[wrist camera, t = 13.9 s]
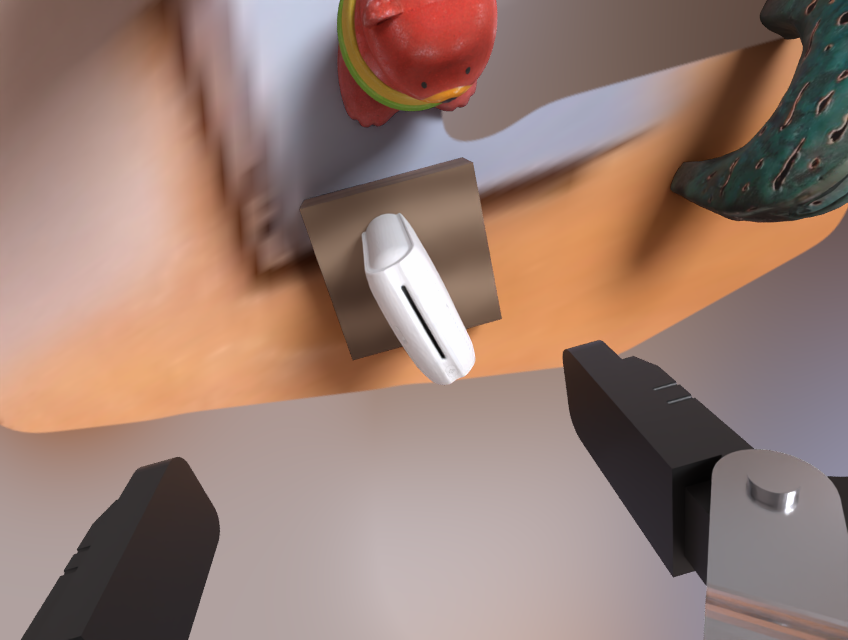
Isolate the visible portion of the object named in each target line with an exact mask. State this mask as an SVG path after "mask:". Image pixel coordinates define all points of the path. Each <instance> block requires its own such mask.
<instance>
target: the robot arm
mask: <svg viewBox="0 0 848 640" xmlns="http://www.w3.org/2000/svg"><path fill="white" fill-rule="evenodd" d="M563 366H564V374H565V381H566V389H567V397H568V405H569V411H570V416H571V419H572V423H573V426H574V428H575V431H576V433H577V435H578V436H579V438H580V440H581V442H582V443H583V445H584V446H585V447H586V449H587V450H588V452H589V453H590V455H591V456H592V458H593V459H594V461H595V462H596V464H597V465H598V467H599V468H600V470H601V471H602V473H603V474H604V476H605V477H606V478H607V480H608V482H609V483H610V484H611V486H612V487H613V489H614V490H615V492H616V493H617V495H618V496H619V498H620V499H621V501H622V502H623V504H624V505H625V507H626V508H627V510H628V511H629V513H630V514H631V515H632V517H633V518H634V520H635V522H636V523H637V525H638V526H639V528H640V529H641V530H642V532H643V533H644V535H645V536H646V538H647V539H648V541H649V542H650V544H651V545H652V547H653V548H654V550H655V551H656V553H657V554H658V556H659V557H660V559H661V560H662V562H663V563H664V565H665V566H666V568H667V569H668V570H669V572H670V573H671V575H672V576H673V577H676V576H679V575H683V574H686V573H690V572H693V571H696V572H697V574H698V575H699V577H700V578H701V579H702V580H703V582H704V583H705V585H706V586H707V588H706V603H705V622H704V640H848V477H832V476H826V475H825V474H823V473H822V472H821V471H820V470H818V469H817V468H815V467H814V466H812V465H811V464H808V463H807V462H805V461H803V460H801V459H799V458H796V457H794V456H791V455H788V454H784V453H781V452H776V451H771V450H763V449H762V450H761V449H754V448H753V447H751V446H750V445H749V444H748V443H747V442H746V441H745V440H743V439H742V438H741V437H740V436H739V435H738V434H736V433H735V432H734V431H733V430H732V429H730V428H729V427H728V426H727V425H726V424H725V423H724V422H723V421H721V420H720V419H719V418H718V417H717V416H716V415H714V414H713V413H712V412H711V411H710V410H709V409H707V408H706V407H705V406H704V405H703V404H702V403H700V402H699V401H698V400H697V399H696V398H692V397H691V394H690V393H689V392H688V391H686V390H685V389H684V388H683V387H682V386H681V385H677V383H676V381H675V380H674V379H672V378H671V377H670V376H669V375H668V374H667V373H666V372H664V371H663V370H662V369H661V368H660V367H658V366H657V365H654V364H652V363H649V362H646V361H644V360H642V359H639V358H637V357H634V356H632V357H628V358H625V359H621V358H620V357H619V356H618V355H617V354H616V353H615V352H614V351H613V350H612V349H611V348H609V347H608V346H607V345H606V344H605V343H604V342H603V341H601V340H597V341H594V342H590V343H587V344H583V345H580V346H576V347H572V348H569V349H565V350H564V351H563ZM219 535H220V525H219V519H218V515H217V512H216V510H215V508H214V506H213V504H212V503H211V501H210V499H209V498H208V496H207V494H206V493H205V491H204V489H203V488H202V486H201V484H200V483H199V481H198V479H197V478H196V476H195V474H194V473H193V471H192V469H191V468H190V466H189V464H188V463H187V462H186V461H185V460H184V459H183V458H180V457H176V458H172V459H168V460H165V461H161V462H158V463H154V464H150V465H147V466H143V467H140V468H139V469H137V470H136V471H135V473H134V474H133V476H132V477H131V479H130V481H129V483H128V484H127V486H126V487H125V489H124V491H123V493H122V494H121V496H120V498H119V499H118V500H116V501H115V502H114V503H113V504H112V505H111V506H110V507H109V508H108V509H107V510H106V511H105V512H104V513H103V514H102V515H101V516H100V517H99V518H98V519H97V520H96V521H95V522H94V523H93V524H92V526H91V528H90V529H89V531H88V533H87V534H86V536H85V537H84V539H83V540H82V542H81V544H80V545H79V547H78V548H77V551H78V553H77V554H74V555H73V557H72V558H71V560H70V562H69V563H68V565H67V566H66V568H65V569H64V572H65V573H64V575H63V576H60V578H59V579H58V581H57V582H56V584H55V586H54V587H53V589H52V590H51V592H50V594H49V596H48V597H47V598H46V600H45V602H44V603H43V605H42V607H41V609H40V610H39V611H38V613H37V615H36V616H35V618H34V620H33V621H32V623H31V624H30V626H29V628H28V629H27V631H26V632H25V634H24V636H23V637H22V639H21V640H188V638H189V635H190V632H191V628H192V625H193V622H194V619H195V616H196V612H197V609H198V606H199V603H200V599H201V596H202V593H203V590H204V587H205V583H206V580H207V577H208V573H209V570H210V567H211V564H212V561H213V557H214V554H215V551H216V548H217V544H218V541H219Z"/></svg>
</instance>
